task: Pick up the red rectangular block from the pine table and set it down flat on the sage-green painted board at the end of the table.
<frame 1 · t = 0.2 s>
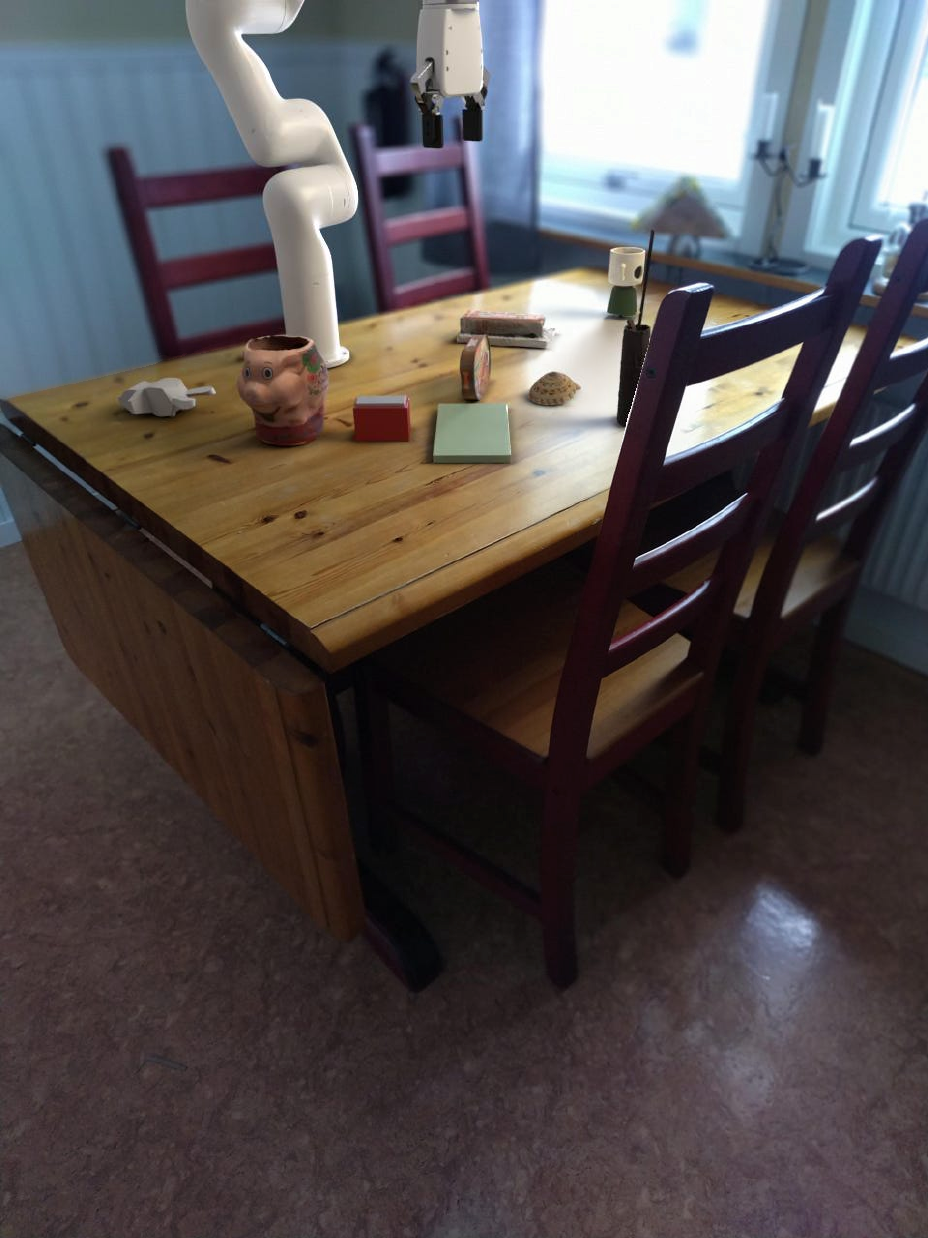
hand: (453, 144, 121), 37 cm above the table, tool pointing down, fingers open, 9 cm apart
decorative planter: (294, 432, 131), on the table
red rectangular block: (383, 435, 129), on the table
character mug: (621, 316, 181), on the table
tin: (475, 392, 144), on the table
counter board: (472, 435, 129), on the table
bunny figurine: (167, 413, 138), on the table
packaged product: (506, 340, 168), on the table
seashell: (553, 397, 142), on the table
butter churn: (628, 420, 133), on the table
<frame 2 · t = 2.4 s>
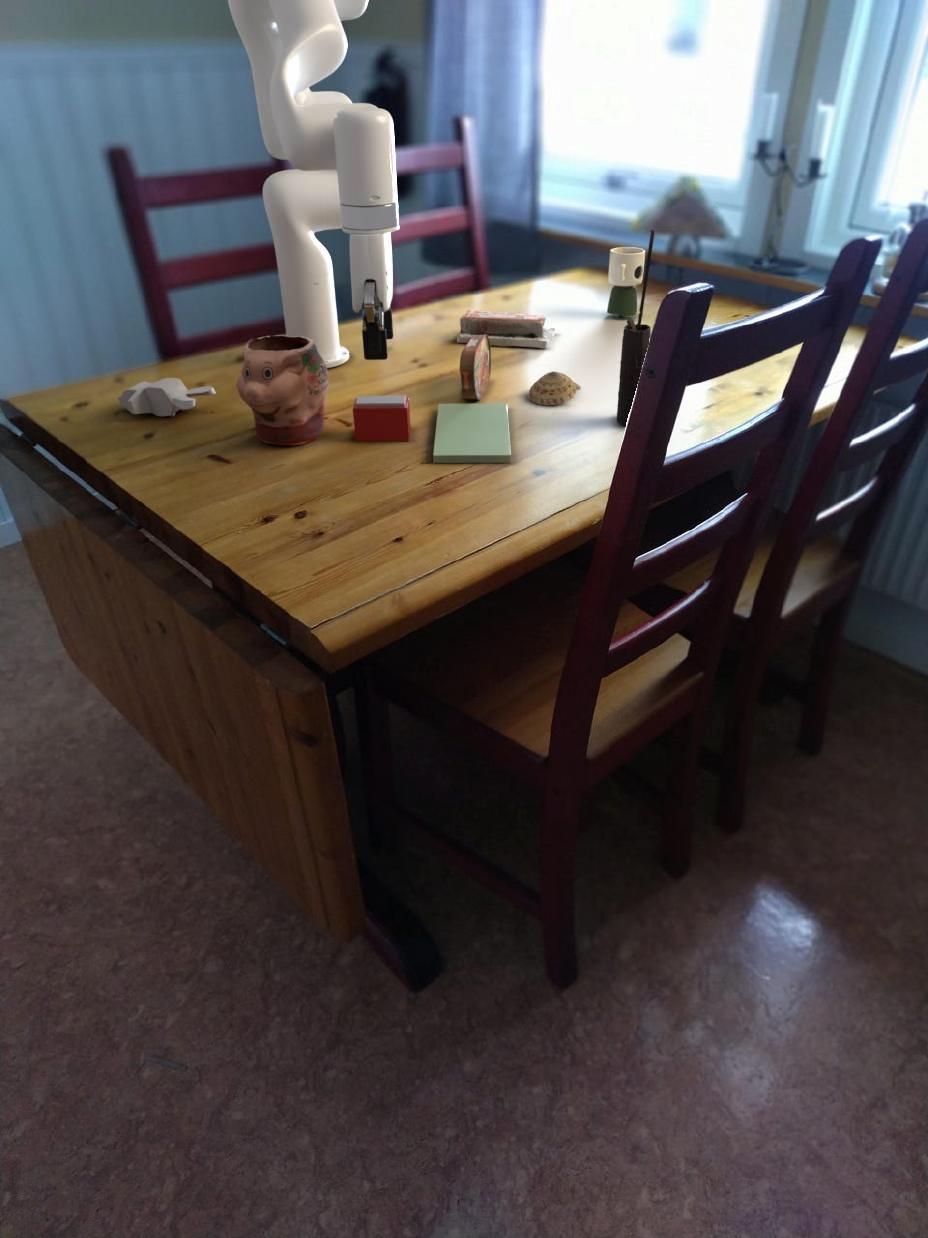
hand: (379, 348, 121), 13 cm above the table, tool pointing down, fingers open, 9 cm apart
nothing on the table moved.
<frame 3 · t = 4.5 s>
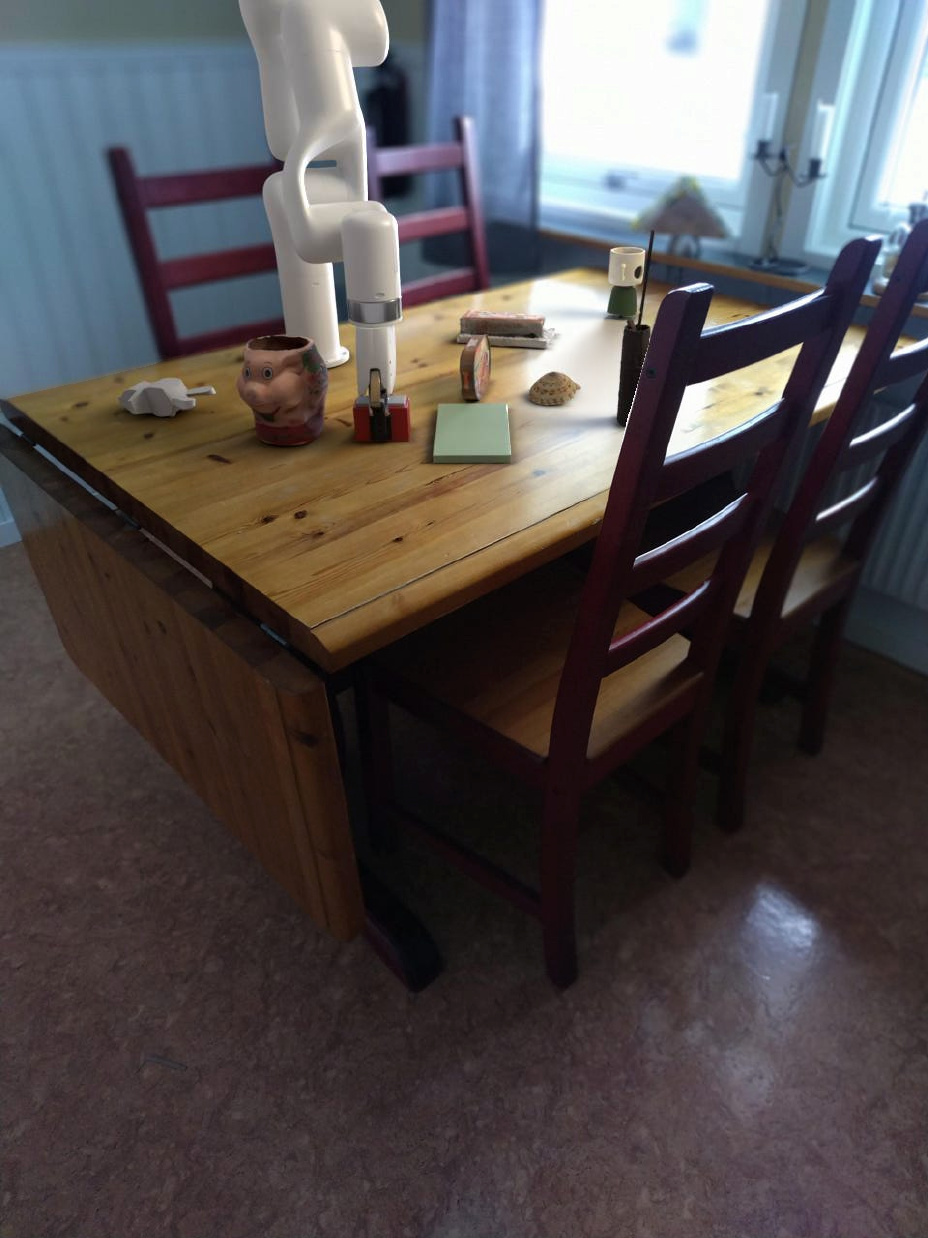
hand: (383, 432, 128), 1 cm above the table, tool pointing down, fingers closed on red rectangular block, 4 cm apart
red rectangular block: (383, 435, 129), on the table, touching gripper
everything else where it was.
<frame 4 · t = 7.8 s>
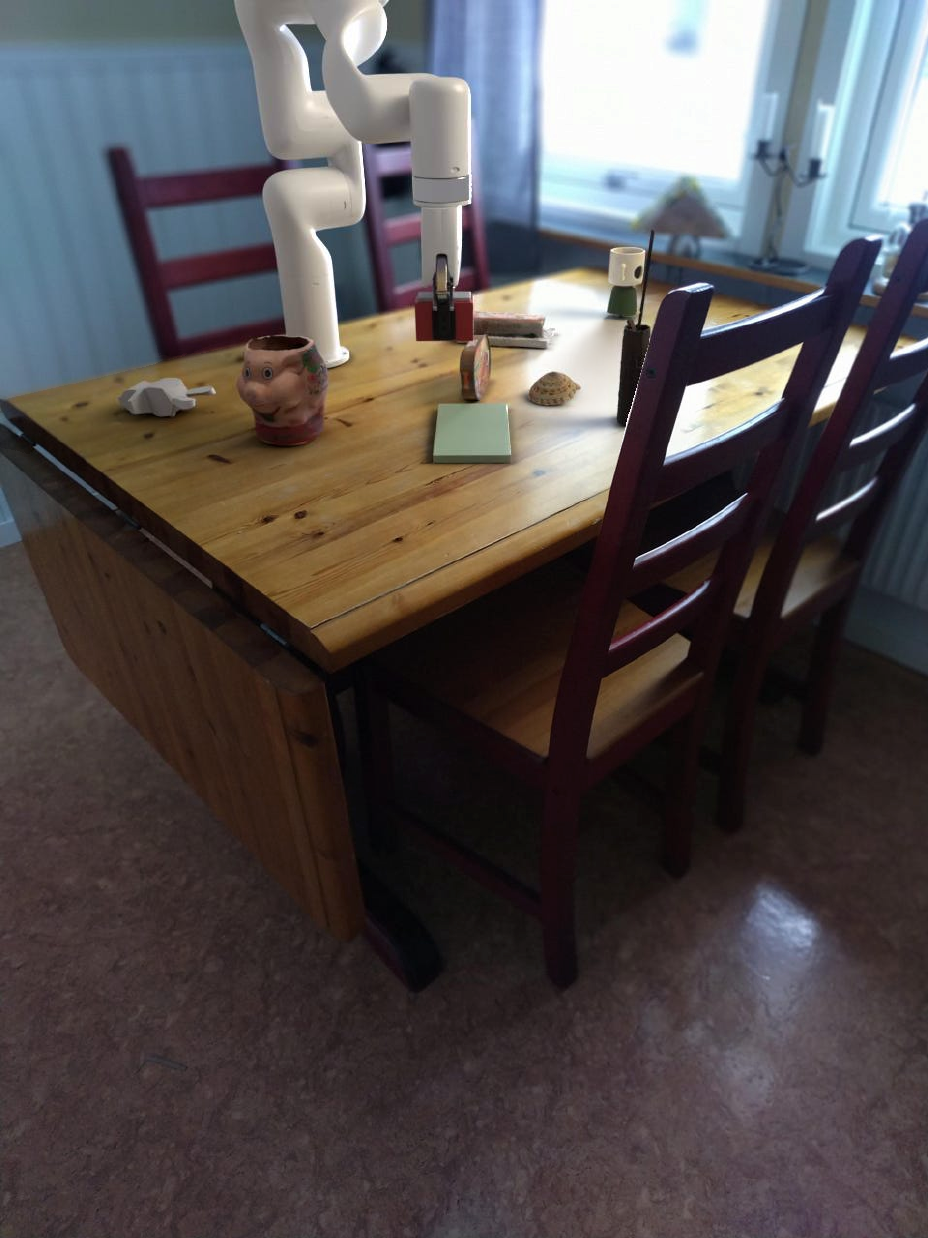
hand: (445, 332, 120), 15 cm above the table, tool pointing down, fingers closed on red rectangular block, 4 cm apart
red rectangular block: (445, 336, 120), point 15 cm above the table, touching gripper
everything else where it was.
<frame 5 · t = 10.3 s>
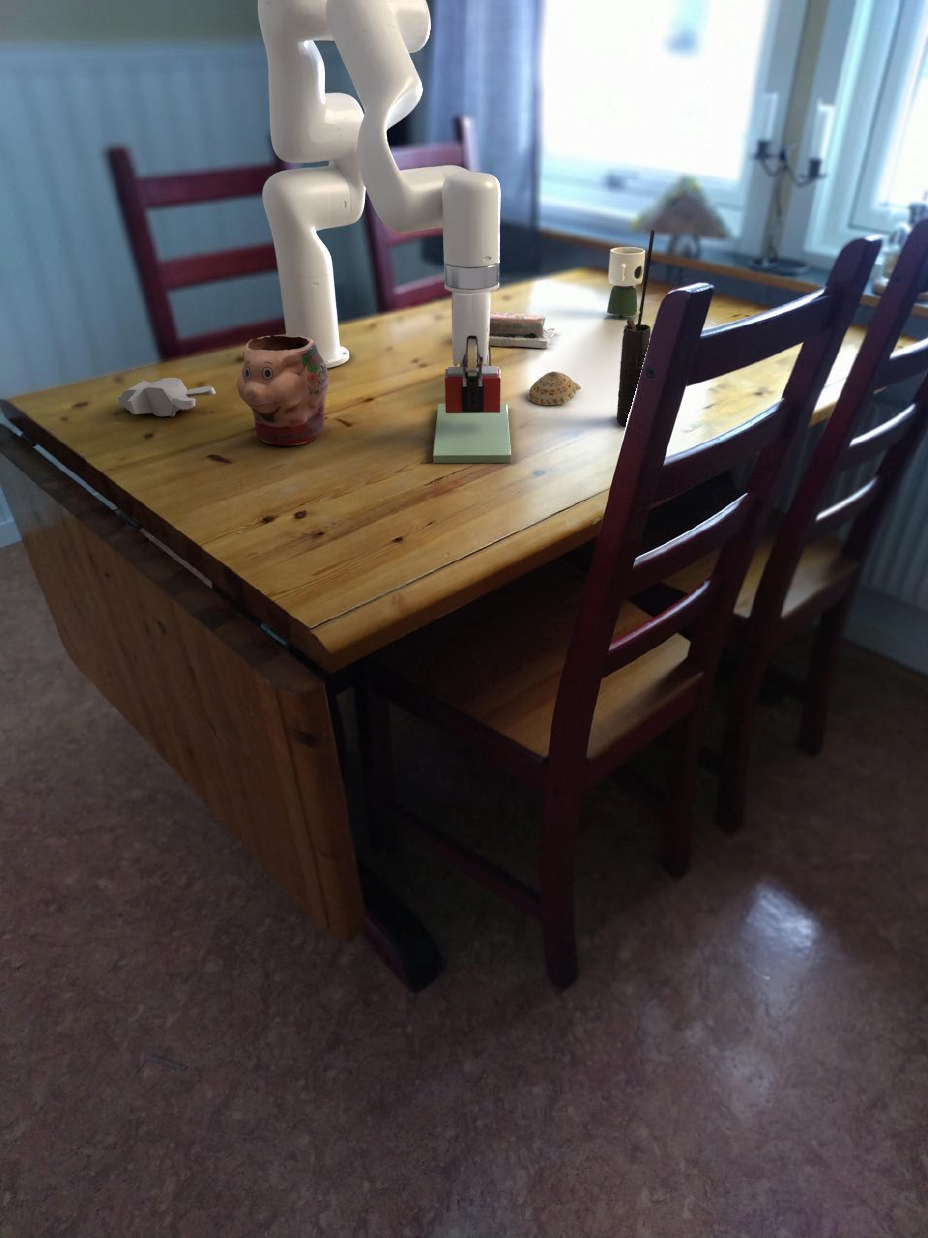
hand: (472, 404, 126), 5 cm above the table, tool pointing down, fingers closed on red rectangular block, 4 cm apart
red rectangular block: (472, 407, 126), point 4 cm above the table, touching gripper
everything else where it was.
when the fingers open (2 cm above the table, at t = 11.5 s): red rectangular block stays where it is, resting on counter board.
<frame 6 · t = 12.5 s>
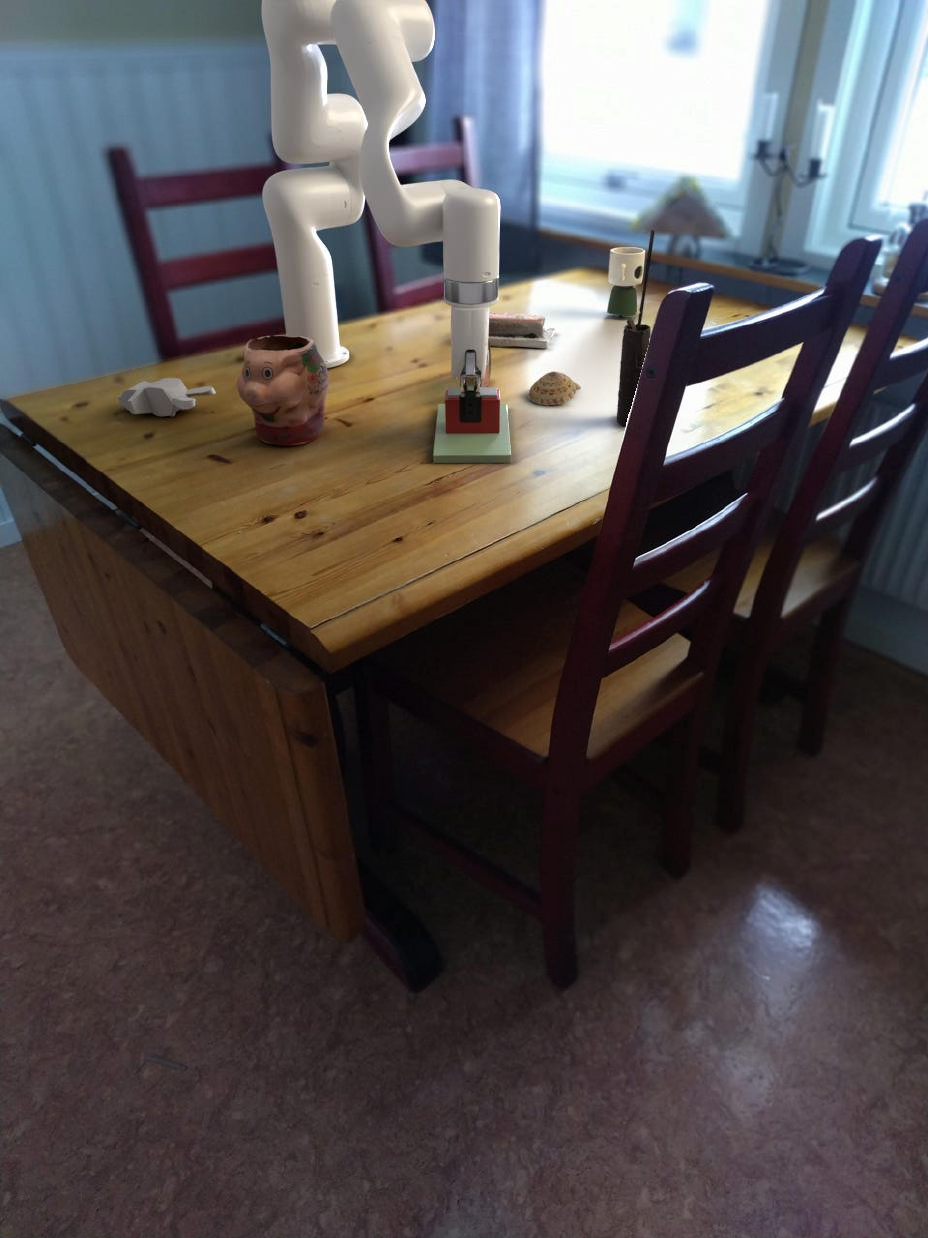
hand: (470, 409, 126), 4 cm above the table, tool pointing down, fingers open, 9 cm apart
red rectangular block: (472, 427, 128), point 1 cm above the table, touching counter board
everything else where it was.
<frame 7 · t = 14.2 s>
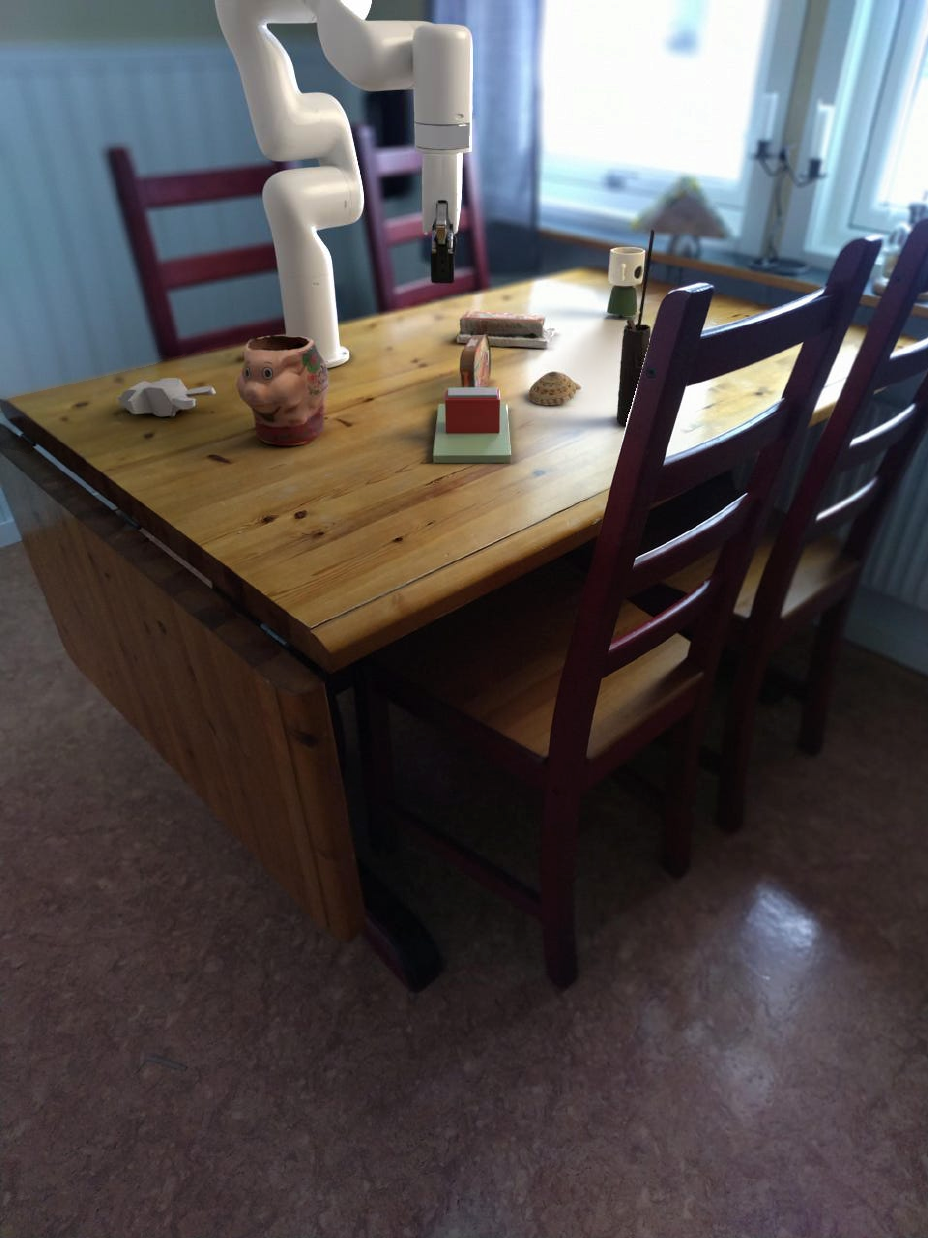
hand: (443, 273, 122), 22 cm above the table, tool pointing down, fingers open, 9 cm apart
nothing on the table moved.
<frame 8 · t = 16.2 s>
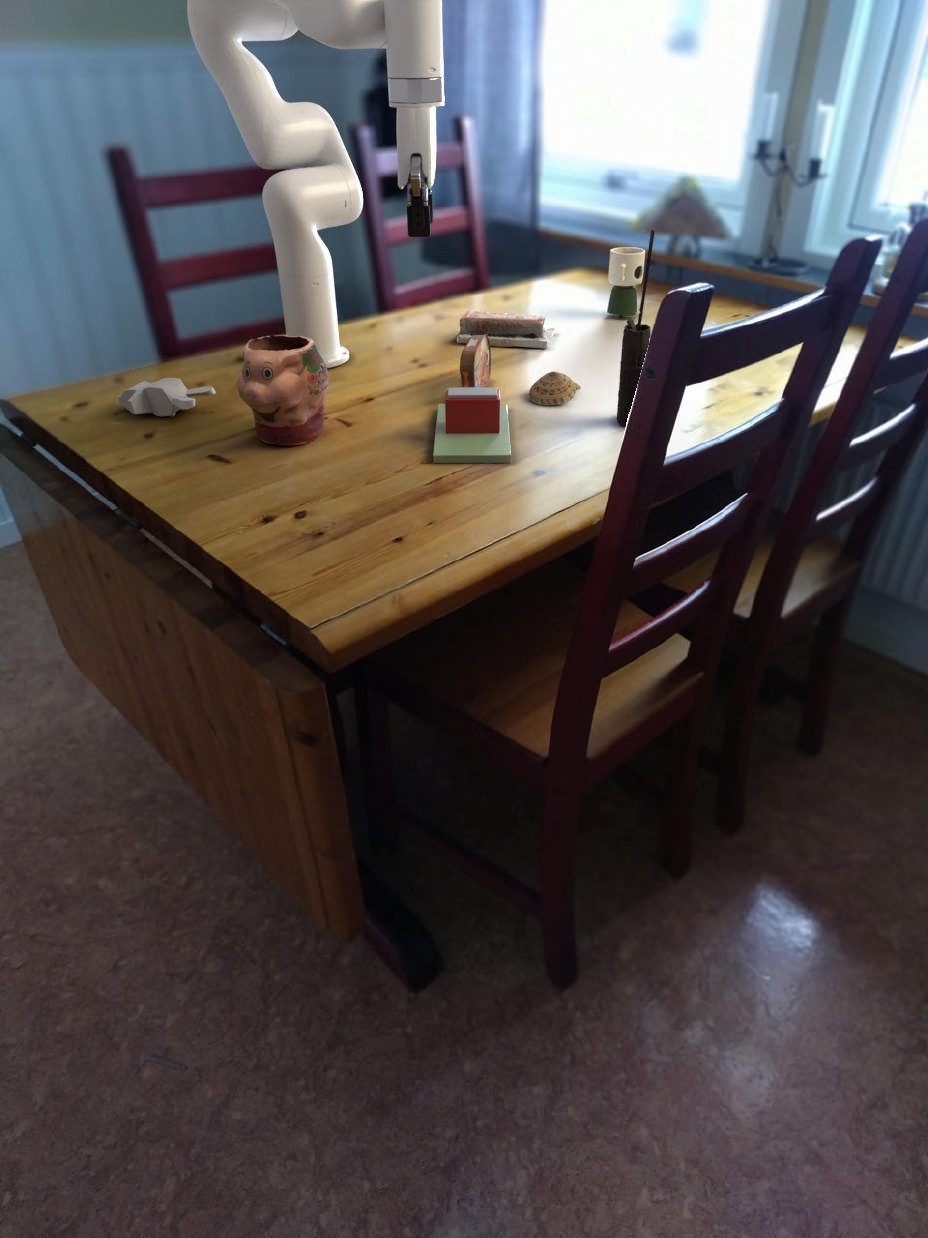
hand: (421, 229, 125), 26 cm above the table, tool pointing down, fingers open, 9 cm apart
nothing on the table moved.
at the end: red rectangular block inside the target area on the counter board (0.1 cm from its centre), point 1.2 cm above the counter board's base; red rectangular block tilted 0°; red rectangular block touching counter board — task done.
